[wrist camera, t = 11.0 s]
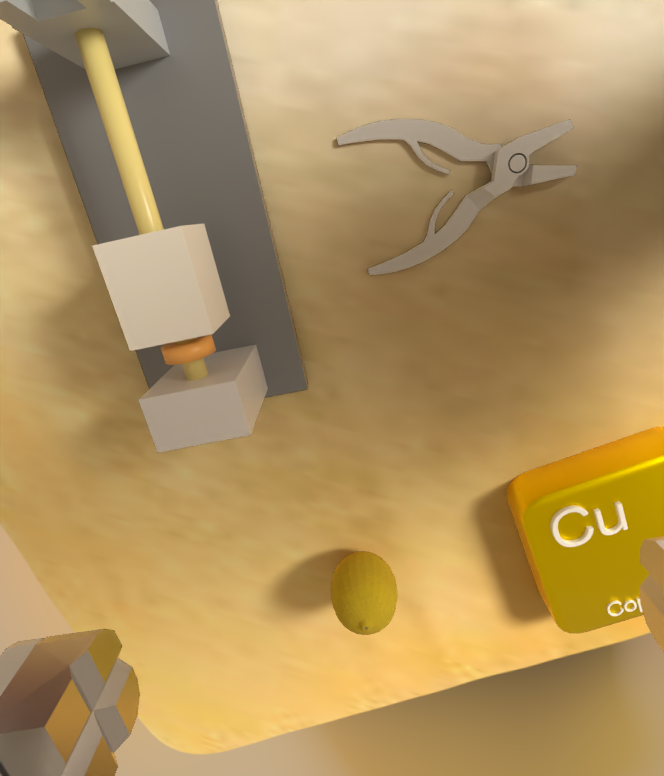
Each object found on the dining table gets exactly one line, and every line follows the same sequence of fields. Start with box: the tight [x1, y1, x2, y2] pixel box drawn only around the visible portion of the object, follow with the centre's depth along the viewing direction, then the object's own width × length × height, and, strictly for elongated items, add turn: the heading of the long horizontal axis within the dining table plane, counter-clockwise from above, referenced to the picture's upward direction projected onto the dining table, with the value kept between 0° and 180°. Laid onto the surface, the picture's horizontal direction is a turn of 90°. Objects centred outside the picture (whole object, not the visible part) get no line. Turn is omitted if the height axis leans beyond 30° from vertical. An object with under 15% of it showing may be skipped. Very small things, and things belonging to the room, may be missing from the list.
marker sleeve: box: [92, 223, 230, 351], centre depth 30 cm, size 5×6×5 cm
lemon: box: [331, 551, 397, 635], centre depth 41 cm, size 6×6×8 cm
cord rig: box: [0, 0, 308, 453], centre depth 29 cm, size 12×27×12 cm, turn 12°
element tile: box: [507, 427, 664, 633], centre depth 42 cm, size 15×15×5 cm
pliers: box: [337, 119, 577, 275], centre depth 34 cm, size 10×2×15 cm
